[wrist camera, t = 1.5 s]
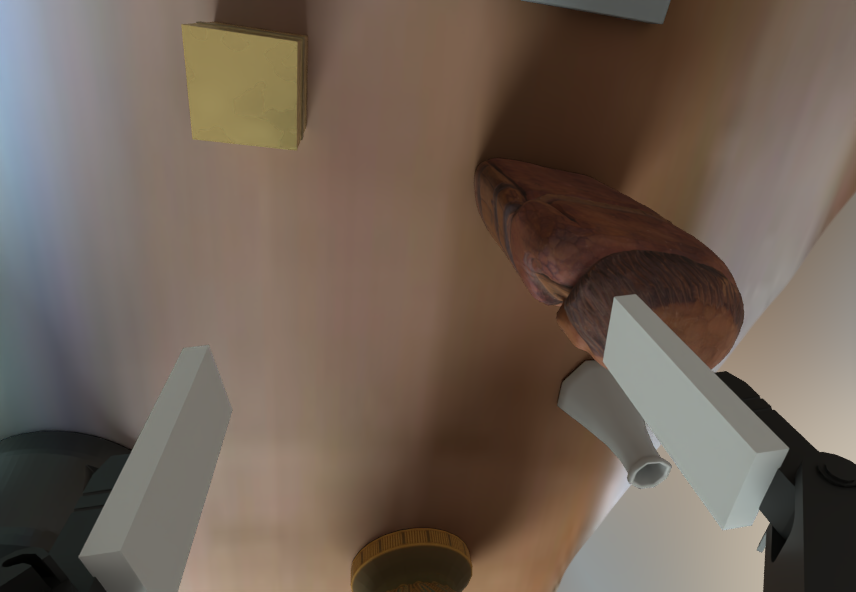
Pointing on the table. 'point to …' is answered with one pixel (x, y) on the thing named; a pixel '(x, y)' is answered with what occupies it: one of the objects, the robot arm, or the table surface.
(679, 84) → the table surface
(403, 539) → the vase
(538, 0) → the base plate
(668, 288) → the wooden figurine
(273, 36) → the block
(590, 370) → the flask
